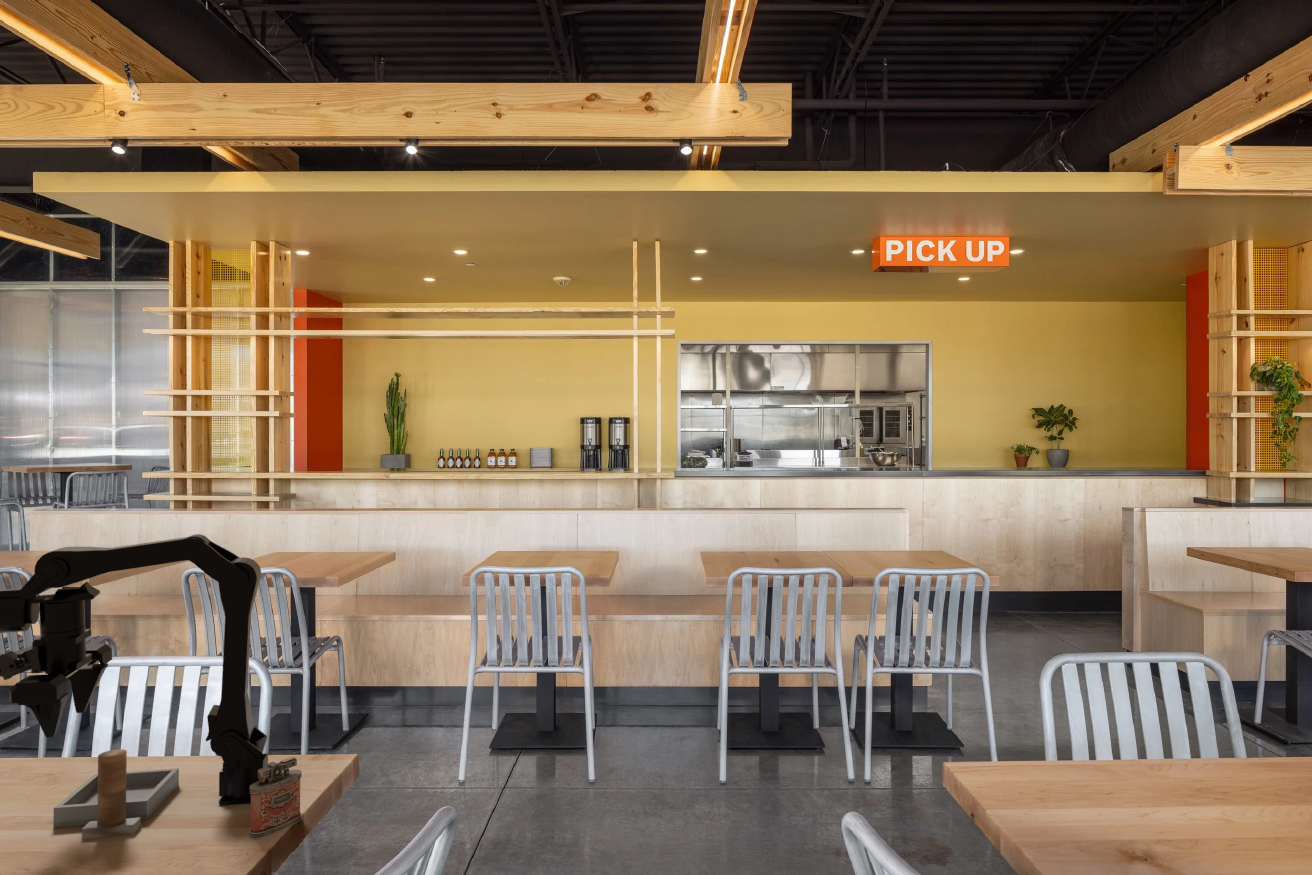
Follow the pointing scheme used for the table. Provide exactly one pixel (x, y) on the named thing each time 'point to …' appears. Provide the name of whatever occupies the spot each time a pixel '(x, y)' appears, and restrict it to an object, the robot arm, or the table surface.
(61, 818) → the tray
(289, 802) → the lighter
